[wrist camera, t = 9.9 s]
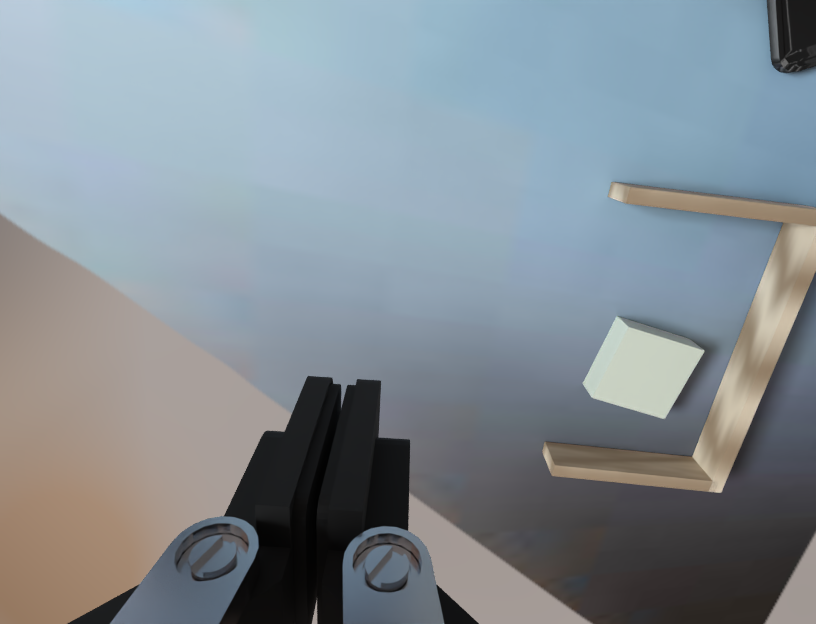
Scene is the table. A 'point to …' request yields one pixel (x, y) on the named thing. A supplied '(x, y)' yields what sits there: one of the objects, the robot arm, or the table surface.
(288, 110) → the table surface
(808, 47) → the phone
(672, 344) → the sage tile
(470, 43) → the table surface
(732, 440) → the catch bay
